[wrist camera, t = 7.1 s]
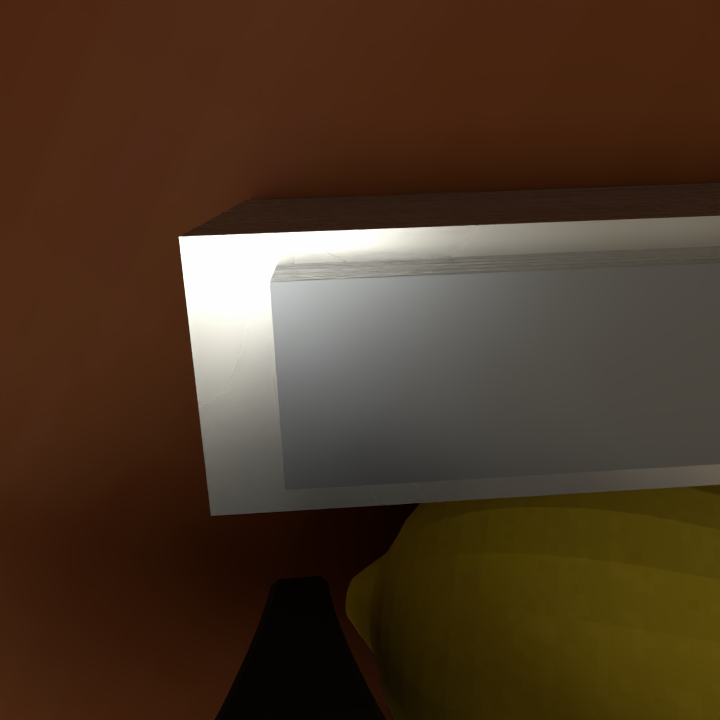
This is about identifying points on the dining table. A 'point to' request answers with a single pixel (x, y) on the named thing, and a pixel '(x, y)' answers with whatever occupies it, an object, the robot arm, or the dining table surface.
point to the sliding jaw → (456, 345)
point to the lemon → (549, 608)
